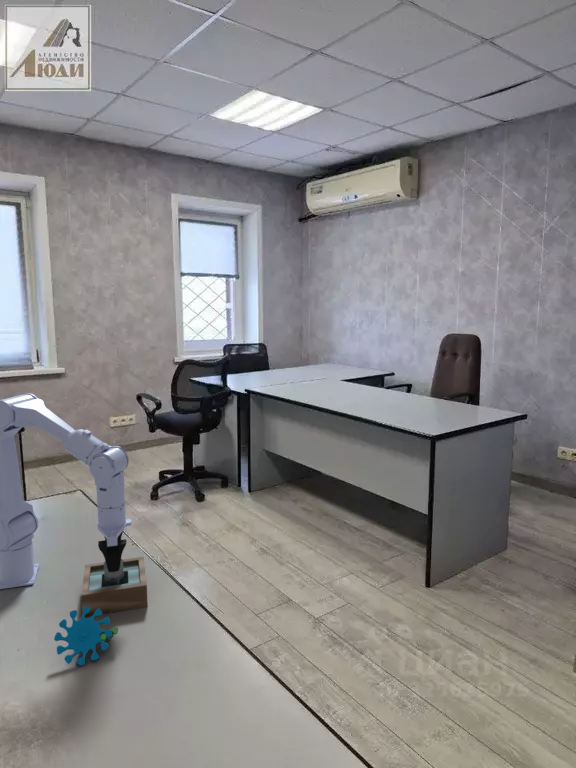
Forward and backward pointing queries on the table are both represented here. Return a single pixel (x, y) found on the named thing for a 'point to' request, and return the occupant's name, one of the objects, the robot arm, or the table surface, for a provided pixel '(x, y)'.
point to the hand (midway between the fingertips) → (113, 562)
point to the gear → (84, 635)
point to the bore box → (115, 588)
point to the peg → (114, 576)
